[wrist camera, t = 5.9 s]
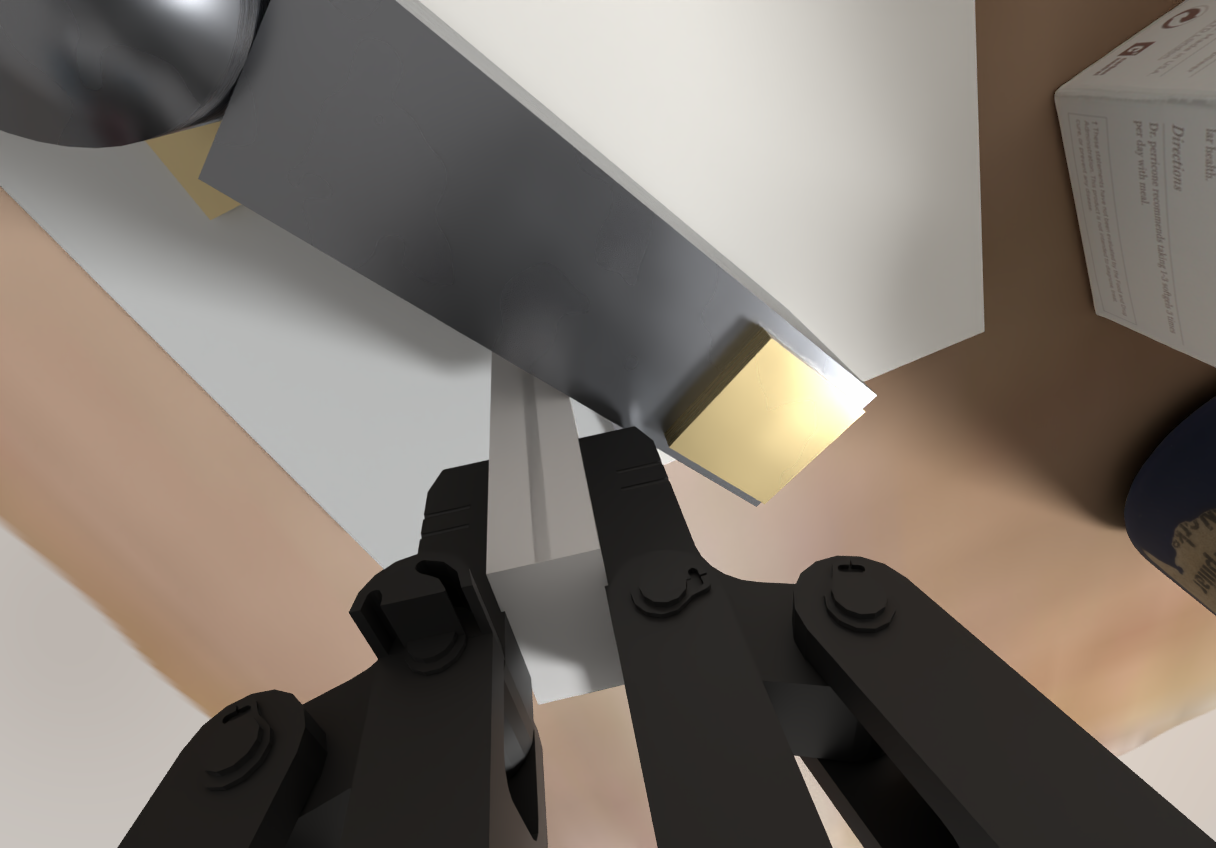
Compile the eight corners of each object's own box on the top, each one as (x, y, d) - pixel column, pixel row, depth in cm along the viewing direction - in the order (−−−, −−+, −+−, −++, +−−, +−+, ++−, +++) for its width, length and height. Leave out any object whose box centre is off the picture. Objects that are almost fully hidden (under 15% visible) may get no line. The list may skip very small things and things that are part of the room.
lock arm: (24, -13, 9) (-353, -57, 5) (99, -322, 7) (-353, -720, 3) (687, 413, 15) (747, 541, 11) (801, 290, 13) (916, 388, 9)
